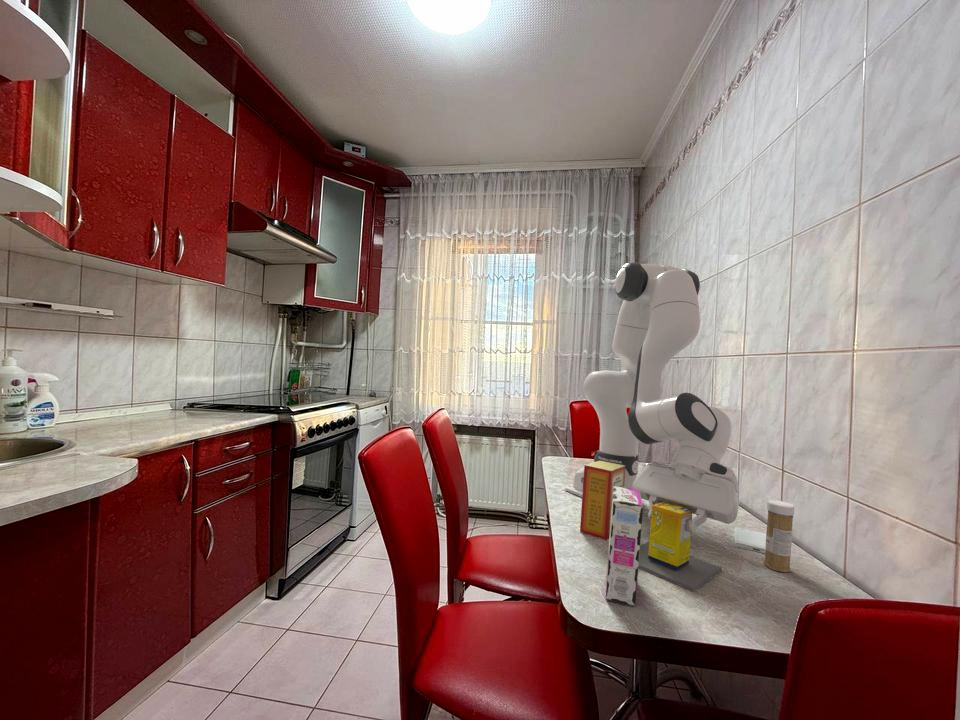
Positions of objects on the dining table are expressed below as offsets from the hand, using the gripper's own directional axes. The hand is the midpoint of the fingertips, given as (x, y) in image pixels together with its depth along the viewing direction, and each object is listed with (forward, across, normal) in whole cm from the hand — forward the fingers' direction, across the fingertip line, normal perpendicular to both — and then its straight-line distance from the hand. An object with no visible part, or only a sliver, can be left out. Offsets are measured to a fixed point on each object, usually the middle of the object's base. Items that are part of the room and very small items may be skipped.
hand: (669, 524), depth 84 cm
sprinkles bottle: (-8, +14, +20) cm, 26 cm away
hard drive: (-16, +7, +29) cm, 34 cm away
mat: (+5, 0, +6) cm, 8 cm away
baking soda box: (+2, -18, +9) cm, 21 cm away
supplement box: (+5, 0, +6) cm, 8 cm away
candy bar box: (+18, -1, -6) cm, 19 cm away
